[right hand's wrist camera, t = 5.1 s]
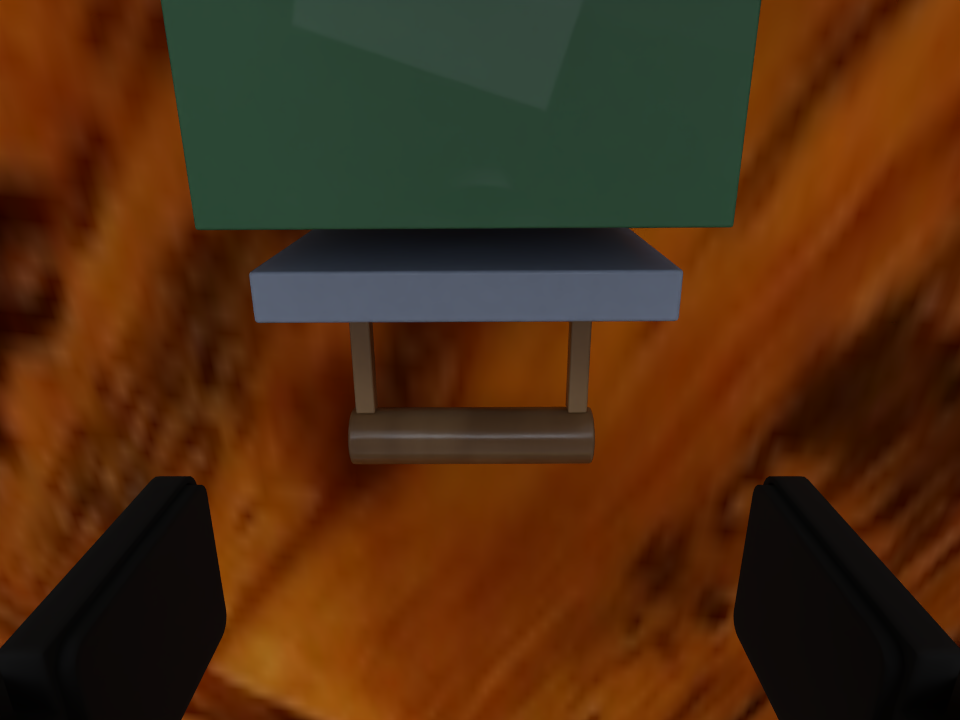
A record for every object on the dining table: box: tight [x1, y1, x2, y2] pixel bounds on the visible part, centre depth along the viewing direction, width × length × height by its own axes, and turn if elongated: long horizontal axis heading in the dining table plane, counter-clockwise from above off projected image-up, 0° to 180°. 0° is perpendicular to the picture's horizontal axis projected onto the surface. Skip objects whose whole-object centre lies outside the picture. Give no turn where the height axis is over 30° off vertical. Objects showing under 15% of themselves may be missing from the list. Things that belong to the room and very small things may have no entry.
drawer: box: [249, 228, 683, 464], centre depth 18 cm, size 21×10×10 cm, turn 0°
